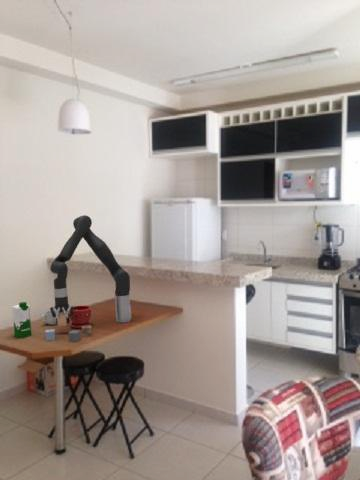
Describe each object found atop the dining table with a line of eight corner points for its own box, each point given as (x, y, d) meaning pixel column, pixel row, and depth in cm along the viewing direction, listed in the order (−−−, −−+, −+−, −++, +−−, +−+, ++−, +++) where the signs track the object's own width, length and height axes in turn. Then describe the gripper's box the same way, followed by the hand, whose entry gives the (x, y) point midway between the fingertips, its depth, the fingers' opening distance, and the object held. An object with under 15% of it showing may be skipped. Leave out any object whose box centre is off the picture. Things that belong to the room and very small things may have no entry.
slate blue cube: (55, 337, 247) (54, 328, 246) (55, 339, 242) (54, 331, 242) (46, 338, 245) (45, 329, 245) (46, 341, 240) (45, 332, 240)
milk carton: (20, 339, 245) (17, 305, 243) (12, 336, 251) (9, 302, 249) (33, 335, 252) (31, 301, 250) (25, 332, 258) (23, 299, 256)
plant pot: (80, 330, 258) (79, 311, 257) (65, 327, 265) (64, 308, 264) (96, 324, 269) (95, 306, 268) (81, 322, 276) (80, 304, 275)
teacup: (58, 320, 282) (57, 308, 282) (65, 323, 274) (64, 311, 273) (37, 324, 274) (36, 312, 273) (43, 328, 265) (43, 315, 265)
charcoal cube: (81, 339, 242) (80, 330, 241) (76, 342, 237) (76, 333, 236) (73, 338, 243) (73, 330, 243) (68, 341, 238) (68, 332, 238)
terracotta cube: (68, 323, 255) (68, 314, 255) (66, 325, 250) (65, 317, 250) (60, 323, 255) (59, 315, 255) (57, 325, 250) (57, 317, 250)
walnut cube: (91, 333, 251) (91, 325, 251) (91, 336, 247) (90, 327, 246) (83, 334, 251) (82, 325, 250) (82, 336, 246) (81, 328, 245)
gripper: (74, 293, 254) (76, 321, 256) (51, 294, 255) (53, 322, 257) (71, 296, 247) (73, 325, 249) (46, 297, 247) (49, 326, 249)
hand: (63, 323), depth 253 cm, fingers closed on terracotta cube, 5 cm apart
